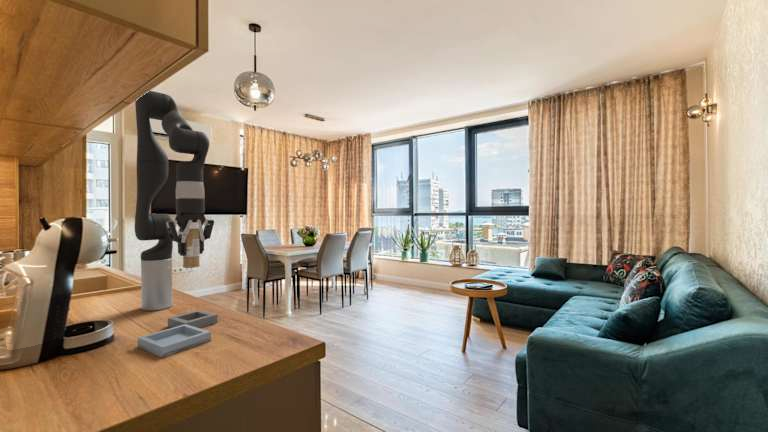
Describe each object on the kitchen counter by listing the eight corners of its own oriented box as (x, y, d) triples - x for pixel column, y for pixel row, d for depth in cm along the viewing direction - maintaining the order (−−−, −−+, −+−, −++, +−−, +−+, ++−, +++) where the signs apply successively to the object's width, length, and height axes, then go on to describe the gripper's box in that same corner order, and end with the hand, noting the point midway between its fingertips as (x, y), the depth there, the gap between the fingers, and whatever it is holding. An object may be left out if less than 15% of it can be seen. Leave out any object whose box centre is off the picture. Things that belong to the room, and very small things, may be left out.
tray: (137, 347, 87) (137, 337, 87) (185, 332, 98) (185, 324, 98) (162, 357, 81) (162, 347, 81) (210, 340, 91) (210, 331, 91)
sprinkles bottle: (179, 267, 102) (178, 222, 102) (192, 265, 106) (191, 221, 106) (190, 268, 100) (190, 222, 100) (203, 266, 105) (203, 221, 104)
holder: (167, 326, 103) (167, 317, 103) (199, 317, 111) (199, 309, 111) (185, 332, 98) (185, 323, 98) (217, 322, 106) (217, 314, 106)
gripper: (205, 198, 111) (206, 251, 111) (158, 197, 99) (159, 256, 99) (220, 197, 107) (220, 252, 107) (172, 196, 95) (173, 258, 95)
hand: (191, 254), depth 103 cm, fingers closed on sprinkles bottle, 4 cm apart
